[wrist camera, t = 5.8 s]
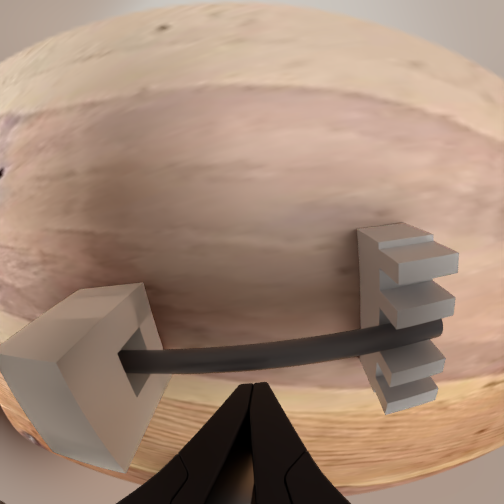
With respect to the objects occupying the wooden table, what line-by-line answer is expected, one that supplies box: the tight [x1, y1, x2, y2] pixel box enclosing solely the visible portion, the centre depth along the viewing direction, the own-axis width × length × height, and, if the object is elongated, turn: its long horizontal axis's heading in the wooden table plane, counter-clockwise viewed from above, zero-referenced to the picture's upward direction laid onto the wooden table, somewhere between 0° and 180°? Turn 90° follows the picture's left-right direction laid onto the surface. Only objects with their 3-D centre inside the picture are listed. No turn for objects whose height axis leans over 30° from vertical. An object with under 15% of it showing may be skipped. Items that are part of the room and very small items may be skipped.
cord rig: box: [117, 223, 459, 415], centre depth 11 cm, size 19×7×5 cm, turn 99°
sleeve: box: [0, 282, 172, 474], centre depth 10 cm, size 4×5×7 cm
